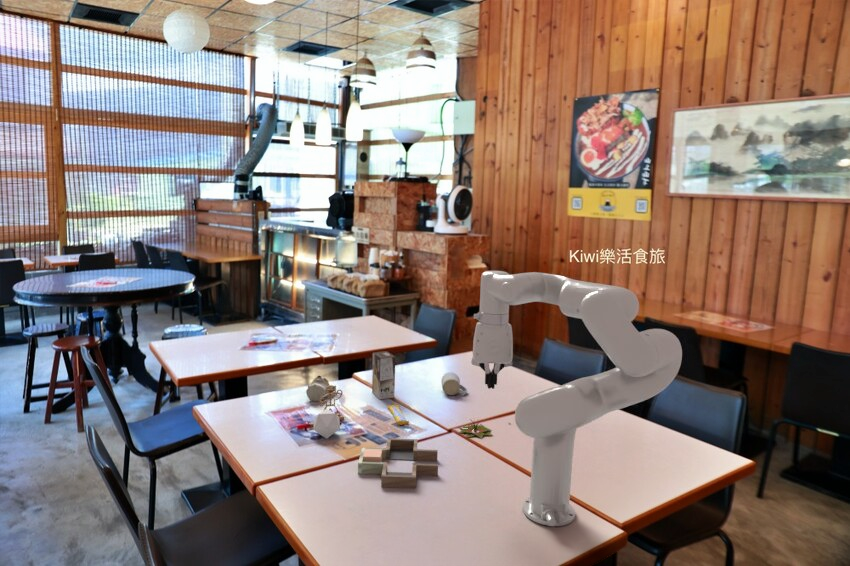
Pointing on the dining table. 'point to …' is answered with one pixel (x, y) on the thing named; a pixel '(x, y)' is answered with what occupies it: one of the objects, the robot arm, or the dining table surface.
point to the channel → (400, 451)
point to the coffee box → (383, 375)
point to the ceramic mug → (452, 384)
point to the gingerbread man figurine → (331, 399)
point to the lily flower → (475, 427)
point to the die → (326, 423)
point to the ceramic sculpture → (318, 388)
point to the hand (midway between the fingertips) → (490, 386)
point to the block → (372, 455)
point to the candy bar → (397, 414)
